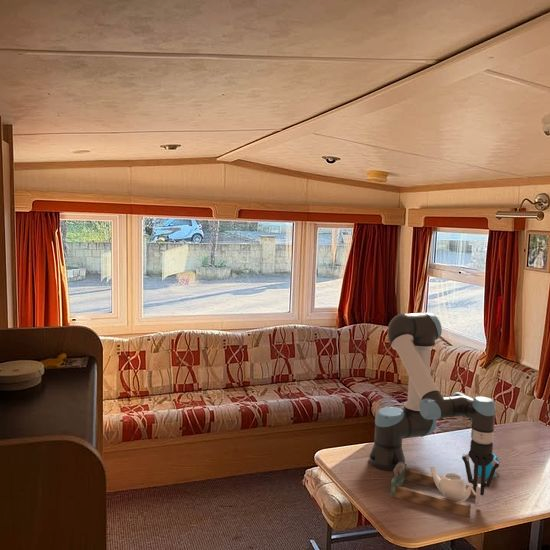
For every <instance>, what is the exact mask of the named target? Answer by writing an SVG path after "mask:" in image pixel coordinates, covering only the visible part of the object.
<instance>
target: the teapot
mask: <svg viewBox="0 0 550 550" xmlns="http://www.w3.org/2000/svg"><path fill="white" fill-rule="evenodd" d="M429 469H430V473H431V475H432V477H433V480H434V482H435V484H436V486H437V488H436V489H438V491H439V492H440V493H441V494H443V496H444V498H447V499H451V500H455V501H458V502H464V501H466V500H467V499H469V497H471V496H470V493H471V490H472V492H473V494H474V495H477V494H476V492H475V491H474V489H473V488H472V487H471V486H469V487H468V488H467V489H466V484H465V483H466V482H465V480H464V479H463V477H462V476H460V475H459V474H457V473H454V472H447V473H445V474H444V475H442V476H439V475H438V473H437V471H436V468H435V466H430V467H429ZM440 477H442V478H440Z"/></svg>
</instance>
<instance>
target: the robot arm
mask: <svg viewBox="0 0 550 550" xmlns="http://www.w3.org/2000/svg"><path fill="white" fill-rule="evenodd" d="M442 330H443V329H442V324H441V321H440V319H439V317H438V316H437V315H436V314H434V313H431V312H424V311H423V312H413V313H411V312H410V313H406V312H405V313H399V314H397V315H395V316H394V317H393V318H392V319H391V320H390V322H389V323H388V327H387V332H386V333H387V339H388V342H389V344H390V347H391V348H392V349H393V350H395V351H396V353H397V355H398V356H399V357H398V358H399V359H400V360H401V362H402V365H403V367H404V369H405V370H406V372H407V375H408V385H407V387H408V388H407V400H406V401H405V402H404V403H403V409H402V408H401V407H398V406H384V407H382V408H379V409H378V410H377V411H376V412H375V413H376V414H375V418H374V442H373V446H372V448H371V451H370V453H369V456H368V458H369V459H368V462H369V463H370V465H371V466H373V467H374V468H377V469H378V470H379V469H380V470H383V471H392V472H393V470H394V468H395V467H396V465H397V464H398V462H403V463H405V464H406V459H405V458H406V457H405V454H404V450H403V440H404V439H411V438H418V437H419V438H420V437H421V438H424V437H426V436H430V435H432V434H433V433H434V431H435V430H436V428H437V420H439V419H446V418H457V417H465V418H467V419H468V420H471V430H470V431H471V432H470V445H469V446H470V449H469V451H468V453H464V454H462V456H461V459H462V461H463V463H464V466H465V467H464V468H465V470H466V472H465V473H466V477H467V482H468V484H471V485H473V489H474V491H475V492H476V494H477V495H476V498H475V502H474V503H475V504H476V505H480V504H481V498H482V497H484V495H485V488H490V486H491V483H492V480H493V475H494V473H495V474H496V470H497V469H498V468H499V467H500V460H498V461H496V460H495V459H494V457H493V454H494V453H493V450H494V443H493V442H494V435H495V420H496V419H495V418H496V412H497V411H496V402H495V400H494V399H493V398H490V397H486V396H480V395H479V396H476V397H472V396H470V395H468V394H467V393H464V392H460V391H455V392H453V393H451V394H450V396H443V395H442V394H441V391H440V389H439V388H438V386H437V384H436V382H435V381H434V379H433V377H432V374H431V373H430V372H431V358H432V357H431V355H432V353H431V351H432V349H433V348H434V347H435V345H436V341H437V340H439V339H440V338H441V336H442ZM470 460H471V461H472V463H473V473H472V470H471V464H470ZM491 462H492V469H491V472H490V475H489V477H488V479H487V480H486V478H485V475H486V466H487V465H489V464H490V463H491ZM479 466H482V473H481V477H480V483H478V482H479V476H478V468H479Z"/></svg>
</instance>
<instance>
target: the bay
mask: <svg viewBox="0 0 550 550" xmlns="http://www.w3.org/2000/svg"><path fill="white" fill-rule="evenodd" d="M392 472H393V473H394V476H393V477H392V479H391V481H390V497H393V498H398V499H401V500H405V501H406V502H407V501H408V502H412V503H414V504H415V503H416V504H419V505H422V506H426V507H429V508H433V509H437V510H441V511H444V512H449V513H452V514H455V515H459V516H463V517H466V518H470V517H471V509H472V508H471V507H472V504H470V503H469V504H468V503H465V502H463V501H460V502H459V501H455V500H451V499H447V498H445V497H443V496H440V495H439V496H438V495H435V494H431V493H427V492H424V491H419V490H416V489H412V488H409V487H405V486H402V485H403V483H404V481H409V482H412V483H416V484H420V483H421V484H420V485H424V484H425V486H428V485H429V486H428V487H433V488H435V487H436V489H438V488H437V486H436V484H435V482H434V480H433V477H432V474H430V473H426V472H421V471H417V470H413V469H408V468H407V463H406V462H405V463H403V462H398V464H397V465H396V467H395V468H394V470H393V471H392ZM439 477H440V478H442V477H443V476H439ZM465 484H466V489H467V488H468V487H469V486H471V487H472V488H473V484H472V483H466V482H465ZM469 497H470V498H471V497H472V498H474V499H476V495H474V494H473V492H472V490H471V493H470V496H469Z"/></svg>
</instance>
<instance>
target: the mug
mask: <svg viewBox="0 0 550 550" xmlns="http://www.w3.org/2000/svg"><path fill="white" fill-rule="evenodd" d="M492 454H493V457H494V459H495V460H496V461H499V457H498V456H497V455H495V453H492ZM491 469H492V462H491V463H490V464H489V465H487V466H486V475H485V479H486V478H488V477H489V475H490V472H491ZM481 473H482V466H479V468H478V477H479V476H480V477H479V478H481ZM495 475H496V472H495V473H494V475H493V478H495ZM493 478H492V479H493Z"/></svg>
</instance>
